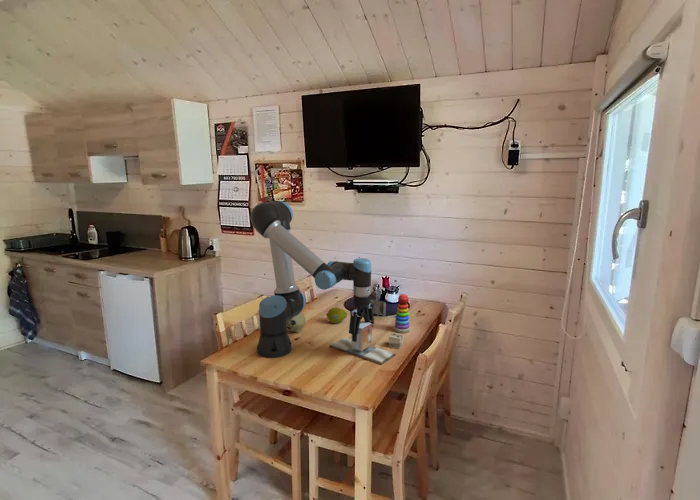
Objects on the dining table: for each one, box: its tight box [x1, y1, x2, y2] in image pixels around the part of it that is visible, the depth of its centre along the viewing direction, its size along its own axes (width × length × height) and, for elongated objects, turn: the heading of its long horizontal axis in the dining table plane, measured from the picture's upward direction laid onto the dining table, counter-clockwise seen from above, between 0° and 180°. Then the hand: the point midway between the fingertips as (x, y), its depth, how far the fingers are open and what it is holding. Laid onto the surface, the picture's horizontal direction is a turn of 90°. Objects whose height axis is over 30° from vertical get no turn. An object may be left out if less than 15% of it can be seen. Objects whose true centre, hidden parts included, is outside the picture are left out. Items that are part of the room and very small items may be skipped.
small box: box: [352, 320, 373, 351], centre depth 181 cm, size 8×6×10 cm
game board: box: [329, 337, 397, 366], centre depth 183 cm, size 11×28×1 cm, turn 52°
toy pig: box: [287, 311, 306, 334], centre depth 203 cm, size 10×12×11 cm
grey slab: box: [370, 299, 387, 317], centre depth 227 cm, size 11×3×10 cm, turn 60°
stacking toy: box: [393, 293, 411, 334], centre depth 204 cm, size 8×8×19 cm
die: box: [388, 332, 404, 350], centre depth 188 cm, size 5×5×5 cm
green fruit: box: [326, 307, 348, 324], centre depth 215 cm, size 11×8×8 cm
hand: (361, 344), depth 182 cm, fingers closed on small box, 8 cm apart
